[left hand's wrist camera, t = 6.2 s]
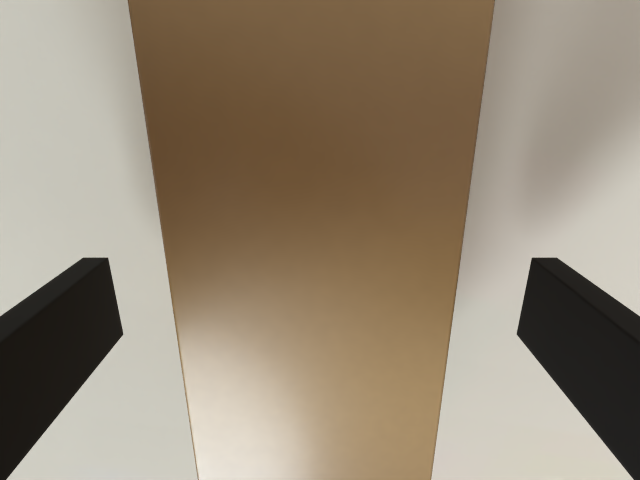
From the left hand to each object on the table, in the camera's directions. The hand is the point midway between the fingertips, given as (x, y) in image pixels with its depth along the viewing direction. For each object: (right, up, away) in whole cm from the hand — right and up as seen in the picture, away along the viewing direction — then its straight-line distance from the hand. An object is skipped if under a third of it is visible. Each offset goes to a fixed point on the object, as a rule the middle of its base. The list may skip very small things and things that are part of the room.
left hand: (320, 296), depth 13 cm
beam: (0, +22, -5) cm, 23 cm away
